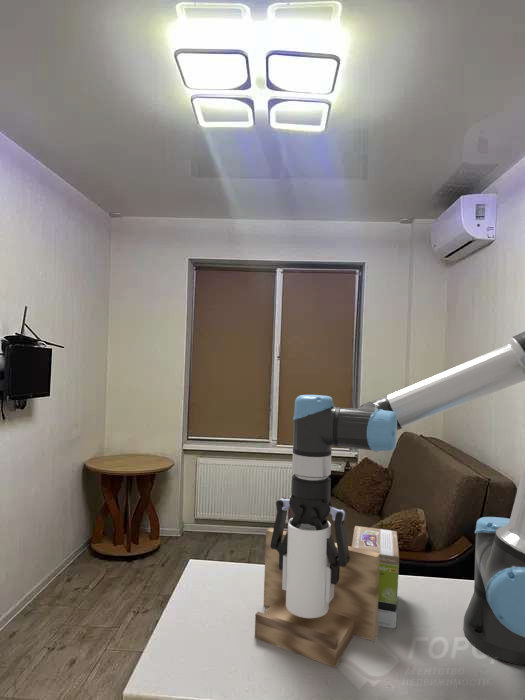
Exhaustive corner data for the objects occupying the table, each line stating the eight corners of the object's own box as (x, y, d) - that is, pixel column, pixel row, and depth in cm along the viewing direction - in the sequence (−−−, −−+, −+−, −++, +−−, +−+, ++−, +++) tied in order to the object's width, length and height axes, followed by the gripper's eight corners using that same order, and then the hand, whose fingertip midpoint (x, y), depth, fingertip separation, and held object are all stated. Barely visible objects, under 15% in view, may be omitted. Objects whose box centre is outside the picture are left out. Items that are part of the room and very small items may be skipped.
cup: (331, 599, 91) (333, 518, 92) (325, 621, 84) (328, 533, 84) (290, 592, 94) (292, 513, 94) (281, 613, 86) (284, 527, 86)
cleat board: (377, 636, 89) (379, 553, 90) (357, 675, 78) (360, 580, 78) (267, 601, 101) (270, 527, 101) (236, 631, 89) (239, 548, 90)
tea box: (397, 630, 91) (400, 555, 92) (346, 621, 94) (348, 548, 94) (395, 593, 106) (397, 529, 106) (351, 586, 109) (353, 523, 109)
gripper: (370, 479, 87) (366, 599, 87) (271, 463, 97) (268, 571, 97) (358, 488, 81) (355, 618, 80) (254, 471, 91) (250, 586, 90)
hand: (307, 592), depth 89 cm, fingers closed on cup, 8 cm apart
